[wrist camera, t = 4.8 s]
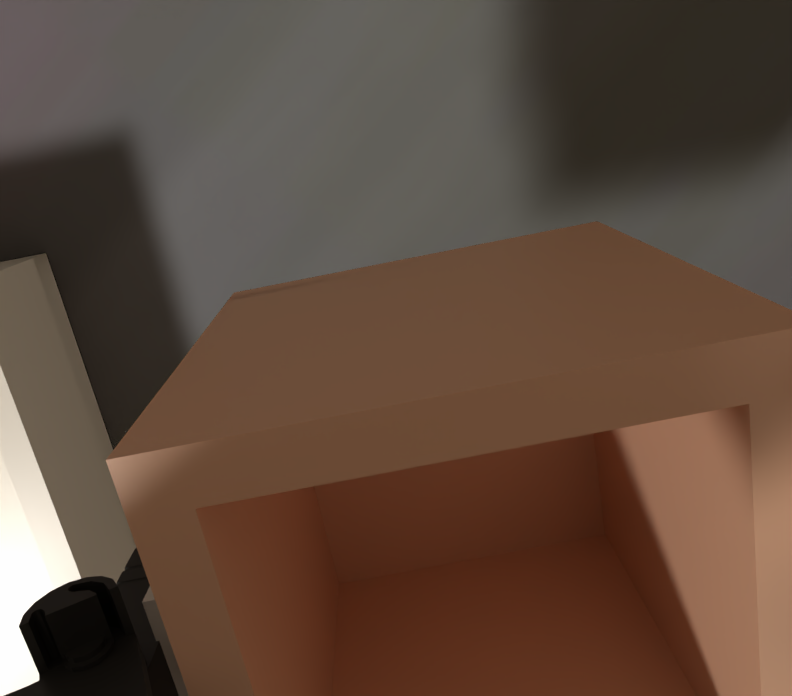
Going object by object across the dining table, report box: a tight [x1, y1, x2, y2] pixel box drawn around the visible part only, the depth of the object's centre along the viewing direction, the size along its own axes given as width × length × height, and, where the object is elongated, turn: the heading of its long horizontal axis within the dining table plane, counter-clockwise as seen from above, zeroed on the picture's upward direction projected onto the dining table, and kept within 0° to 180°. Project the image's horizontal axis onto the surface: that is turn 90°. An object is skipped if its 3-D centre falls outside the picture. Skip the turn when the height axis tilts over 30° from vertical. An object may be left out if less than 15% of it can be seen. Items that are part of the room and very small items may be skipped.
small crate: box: [106, 221, 792, 696], centre depth 13 cm, size 8×8×8 cm
